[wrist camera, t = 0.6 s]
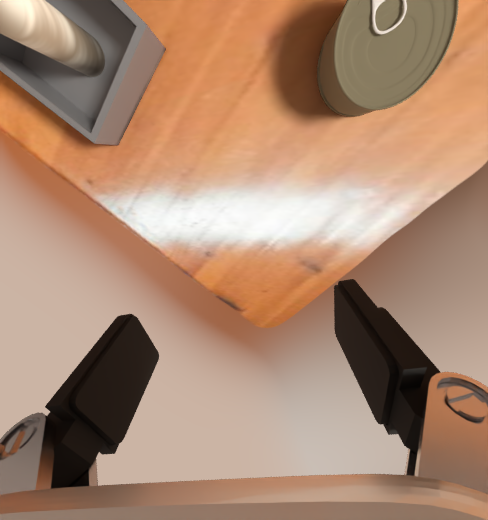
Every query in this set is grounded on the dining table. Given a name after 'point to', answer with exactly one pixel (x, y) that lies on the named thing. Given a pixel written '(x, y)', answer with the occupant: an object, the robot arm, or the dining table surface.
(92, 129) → the grey storage bin
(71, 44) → the peg
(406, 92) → the can
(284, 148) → the dining table surface
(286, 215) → the dining table surface
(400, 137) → the dining table surface
